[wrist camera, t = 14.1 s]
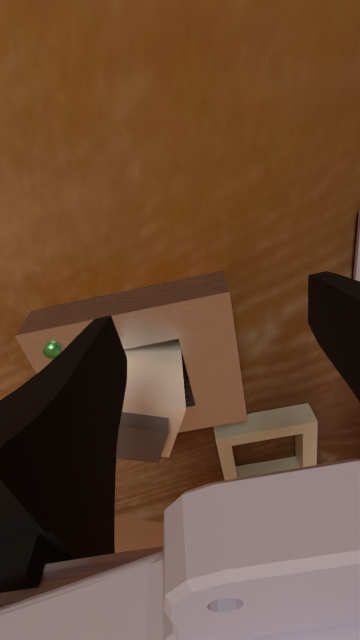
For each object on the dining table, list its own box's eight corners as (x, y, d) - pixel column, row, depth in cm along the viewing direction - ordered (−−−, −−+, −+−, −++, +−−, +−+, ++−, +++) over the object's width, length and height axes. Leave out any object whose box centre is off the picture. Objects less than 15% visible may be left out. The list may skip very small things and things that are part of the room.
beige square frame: (308, 403, 28) (317, 421, 26) (307, 461, 32) (315, 480, 31) (212, 420, 28) (215, 439, 27) (224, 475, 33) (227, 494, 31)
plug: (179, 337, 24) (187, 424, 17) (167, 379, 26) (169, 472, 19) (122, 327, 23) (106, 413, 16) (114, 371, 25) (96, 465, 18)
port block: (221, 271, 21) (230, 294, 18) (239, 391, 27) (248, 423, 24) (31, 310, 22) (12, 338, 19) (88, 419, 28) (80, 453, 25)
